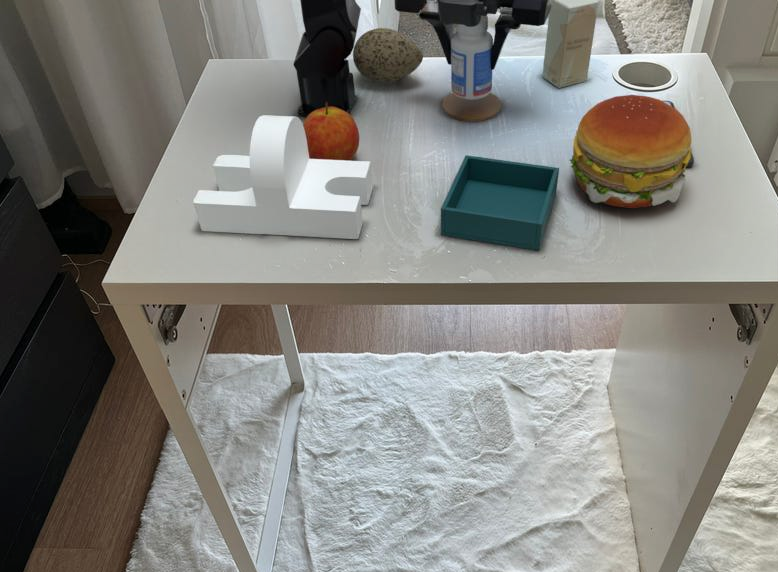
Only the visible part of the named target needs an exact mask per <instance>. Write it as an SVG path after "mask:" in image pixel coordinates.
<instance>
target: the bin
mask: <svg viewBox="0 0 778 572" xmlns="http://www.w3.org/2000/svg"><path fill="white" fill-rule="evenodd" d="M559 174H560V167H555V166H547V165H540V164H534V163H525V162H517V161H511V160H503V159H496V158H489V157H483V156H482V157H481V156H476V155H474V156H473V155H467V154H466V155H465V156H464V157H463V160H462V162H461V164H460V166H459V168H458V170H457V173H456V175H455V177H454V179H453V182H452V183H451V186H450V188H449V190H448V192H447V194H446V196H445V199H444V201H443V203H442V205H441V207H440V235H441V236H444V237H445V236H446V237H452V238H458V239H465V240H471V241H475V242H476V241H478V242H483V243H490V244H497V245H501V246H507V247H513V248H514V247H515V248H521V249H526V250H533V251H540V249H541V246H542V243H543V239H544V236H545V233H546V229H547V226H548V223H549V220H550V216H551V212H552V210H553V206H554V202H555V199H556V196H557V190H558V183H559Z"/></svg>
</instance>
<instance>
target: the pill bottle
mask: <svg viewBox="0 0 778 572" xmlns="http://www.w3.org/2000/svg"><path fill="white" fill-rule="evenodd" d="M455 29H456V32H454V35H453V36H452V38H451V65H450V69H451V70H450V72H451V74H450V75H451V76H450V78H451V80H450V81H451V83H450V85H451V92H452V93H454V94H455V95H456V96H457V97H459V98H462V99H468V100H476V99H481V98H484V97H486V96H487V95H489V94H490V93H491V92H492V88H493V70H491V56H492V49H493V43H494V37H493V36H492V34H491V33H490V32H489V31H488V29H489V17H488V15H487V16H481V20H480V23H479V24H478V25H477V26H474V27H467V26H465V25H460V24H455Z"/></svg>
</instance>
